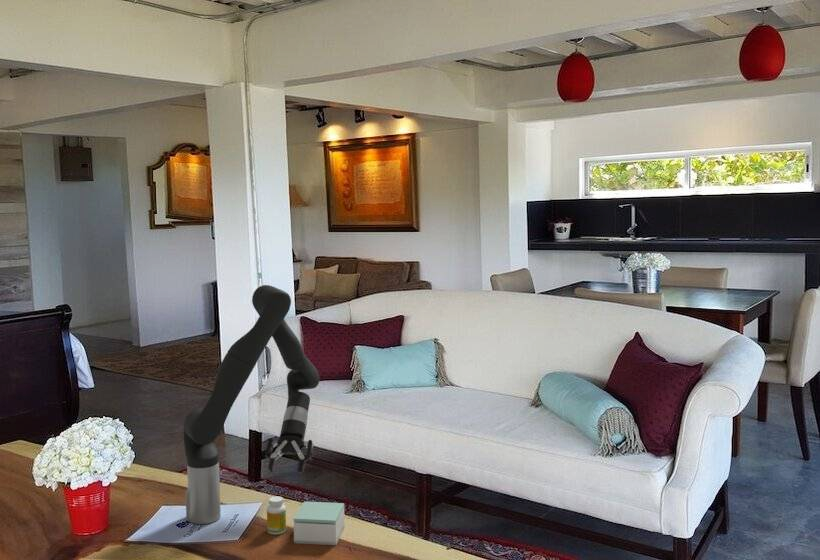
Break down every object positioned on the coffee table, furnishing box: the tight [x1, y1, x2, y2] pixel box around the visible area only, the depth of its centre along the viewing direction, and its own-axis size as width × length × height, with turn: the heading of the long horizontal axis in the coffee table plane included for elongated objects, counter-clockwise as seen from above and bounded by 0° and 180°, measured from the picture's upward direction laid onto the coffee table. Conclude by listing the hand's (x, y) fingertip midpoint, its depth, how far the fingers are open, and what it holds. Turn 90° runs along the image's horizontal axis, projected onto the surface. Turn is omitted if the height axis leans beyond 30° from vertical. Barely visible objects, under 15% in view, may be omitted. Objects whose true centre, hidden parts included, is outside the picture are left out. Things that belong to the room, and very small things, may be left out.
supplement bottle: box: [266, 495, 287, 535], centre depth 219 cm, size 5×5×10 cm
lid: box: [293, 501, 345, 523], centre depth 216 cm, size 12×12×1 cm
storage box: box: [293, 506, 345, 546], centre depth 217 cm, size 12×12×6 cm
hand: (285, 472), depth 228 cm, fingers open, 8 cm apart
